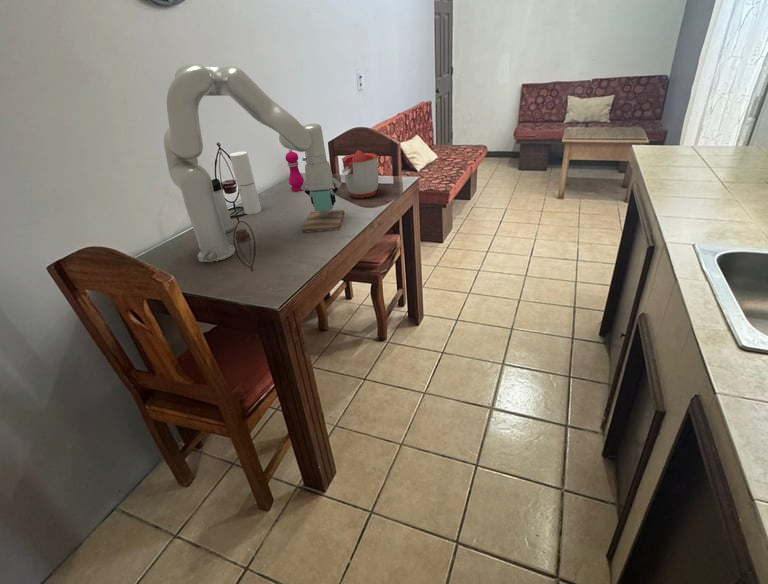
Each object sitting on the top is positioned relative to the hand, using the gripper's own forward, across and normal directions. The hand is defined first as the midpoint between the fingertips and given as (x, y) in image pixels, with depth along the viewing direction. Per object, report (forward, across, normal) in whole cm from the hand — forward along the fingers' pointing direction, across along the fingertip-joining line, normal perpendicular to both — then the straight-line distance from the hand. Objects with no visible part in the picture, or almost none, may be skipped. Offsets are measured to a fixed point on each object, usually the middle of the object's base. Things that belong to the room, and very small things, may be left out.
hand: (324, 204), depth 167 cm
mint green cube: (+1, 0, 0) cm, 1 cm away
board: (+6, 0, -4) cm, 7 cm away
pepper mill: (+6, -20, +43) cm, 48 cm away
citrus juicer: (+6, +13, +27) cm, 30 cm away
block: (+4, 0, 0) cm, 4 cm away
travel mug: (+6, -40, -5) cm, 41 cm away
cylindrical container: (+6, -35, +16) cm, 39 cm away
